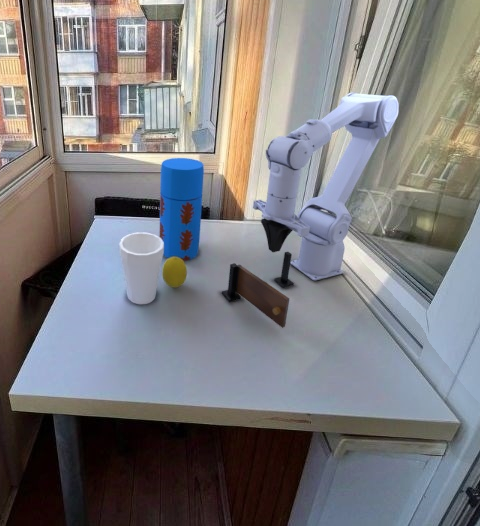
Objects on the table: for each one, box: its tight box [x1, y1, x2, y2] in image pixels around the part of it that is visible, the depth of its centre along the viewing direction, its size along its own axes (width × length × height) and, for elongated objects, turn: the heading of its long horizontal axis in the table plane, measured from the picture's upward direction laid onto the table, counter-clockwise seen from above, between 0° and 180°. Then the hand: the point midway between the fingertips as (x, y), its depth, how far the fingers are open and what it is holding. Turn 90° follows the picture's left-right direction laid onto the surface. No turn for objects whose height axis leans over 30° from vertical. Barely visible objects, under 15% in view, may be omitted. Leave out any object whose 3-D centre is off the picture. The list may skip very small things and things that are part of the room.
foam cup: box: [118, 231, 164, 305], centre depth 72 cm, size 10×9×13 cm
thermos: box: [158, 157, 205, 262], centre depth 88 cm, size 11×11×25 cm
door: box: [235, 264, 290, 329], centre depth 68 cm, size 13×2×6 cm, turn 29°
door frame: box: [221, 251, 295, 303], centre depth 74 cm, size 17×3×8 cm, turn 109°
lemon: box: [161, 256, 188, 289], centre depth 75 cm, size 6×6×8 cm
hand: (274, 250), depth 74 cm, fingers closed
